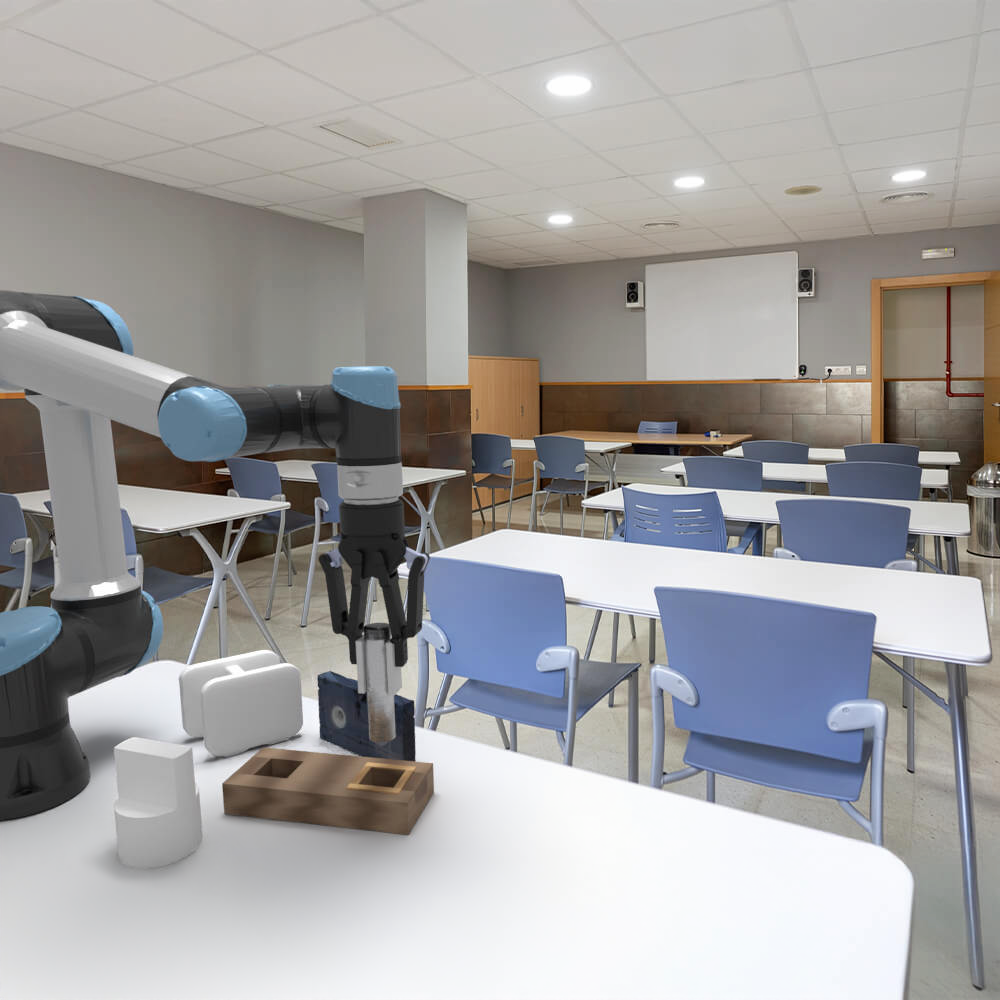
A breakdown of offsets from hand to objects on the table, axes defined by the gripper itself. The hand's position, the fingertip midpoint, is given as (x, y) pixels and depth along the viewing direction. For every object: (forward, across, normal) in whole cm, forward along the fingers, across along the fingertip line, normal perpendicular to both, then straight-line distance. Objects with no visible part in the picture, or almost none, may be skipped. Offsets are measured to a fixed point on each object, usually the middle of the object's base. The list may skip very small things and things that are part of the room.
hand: (380, 689), depth 98 cm
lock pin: (+6, 0, 0) cm, 6 cm away
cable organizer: (+16, -28, +15) cm, 36 cm away
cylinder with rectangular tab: (+16, -23, -12) cm, 30 cm away
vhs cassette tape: (+16, -8, +14) cm, 23 cm away
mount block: (+15, -7, 0) cm, 17 cm away
